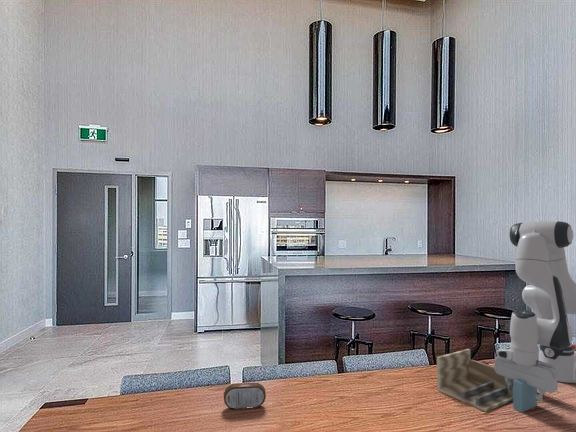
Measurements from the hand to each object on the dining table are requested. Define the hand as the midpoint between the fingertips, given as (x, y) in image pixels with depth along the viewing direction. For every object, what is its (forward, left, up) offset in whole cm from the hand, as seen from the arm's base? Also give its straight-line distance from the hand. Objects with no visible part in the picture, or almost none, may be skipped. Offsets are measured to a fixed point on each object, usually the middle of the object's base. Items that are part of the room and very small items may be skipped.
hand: (524, 395), depth 133 cm
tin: (+88, -50, -5) cm, 101 cm away
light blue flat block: (0, 0, -4) cm, 4 cm away
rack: (+6, -15, -4) cm, 17 cm away
